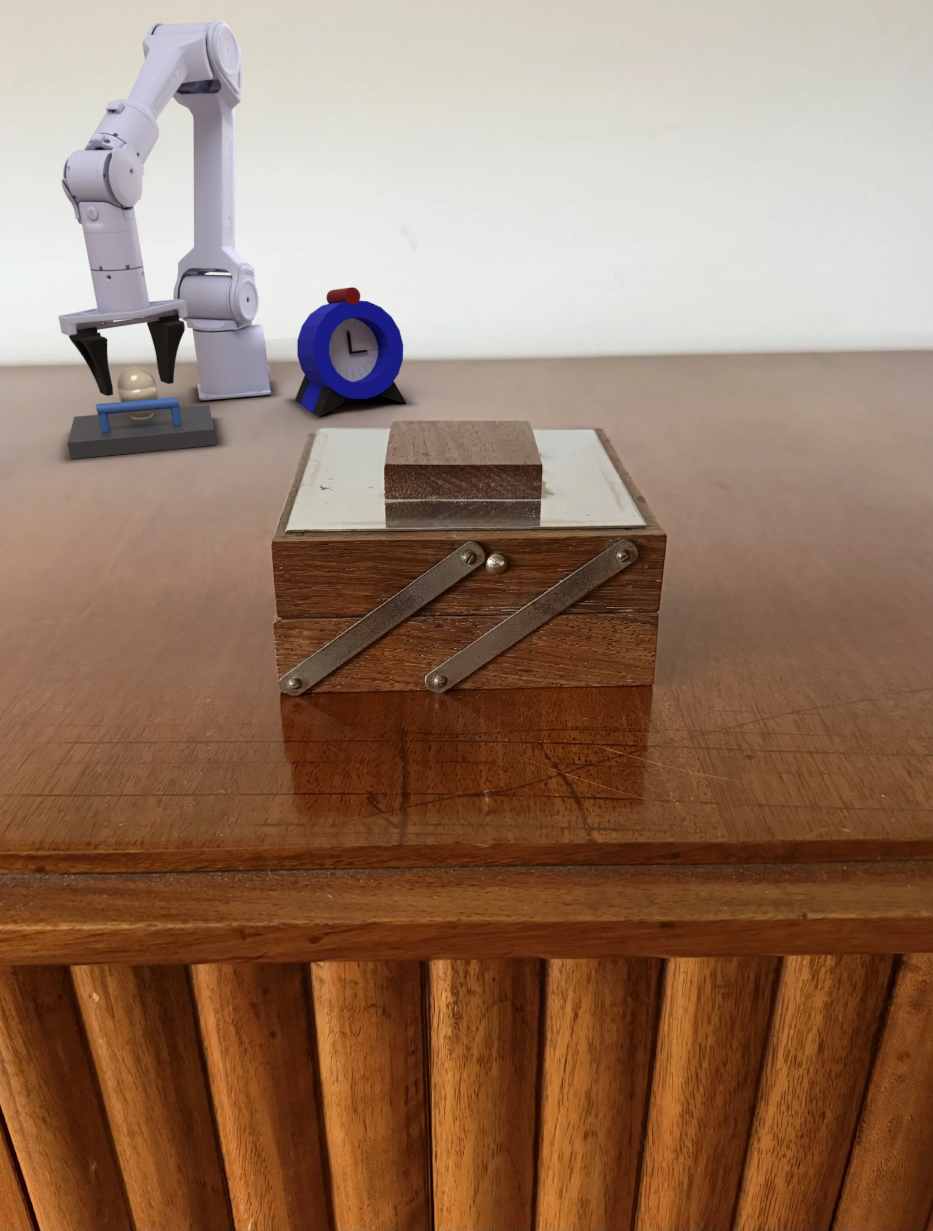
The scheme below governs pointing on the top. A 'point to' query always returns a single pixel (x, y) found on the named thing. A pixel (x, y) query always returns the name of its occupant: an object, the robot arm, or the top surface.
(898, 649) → the top surface
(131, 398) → the lidded jar
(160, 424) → the handle board
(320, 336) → the alarm clock
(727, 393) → the top surface
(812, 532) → the top surface
